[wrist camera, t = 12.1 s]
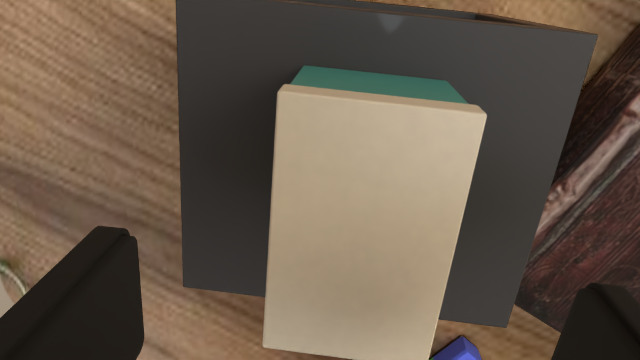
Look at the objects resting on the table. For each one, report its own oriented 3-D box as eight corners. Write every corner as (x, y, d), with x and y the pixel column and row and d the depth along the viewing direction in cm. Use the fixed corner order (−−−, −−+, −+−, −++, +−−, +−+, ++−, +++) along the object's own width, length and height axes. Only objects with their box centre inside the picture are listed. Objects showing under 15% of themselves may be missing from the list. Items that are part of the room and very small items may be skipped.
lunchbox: (410, 277, 19) (426, 369, 14) (285, 262, 19) (262, 348, 15) (450, 77, 16) (488, 114, 11) (300, 61, 16) (277, 90, 11)
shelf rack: (248, 176, 32) (182, 287, 20) (255, -10, 27) (175, -10, 15) (450, 199, 32) (506, 328, 20) (492, 14, 27) (599, 34, 15)
